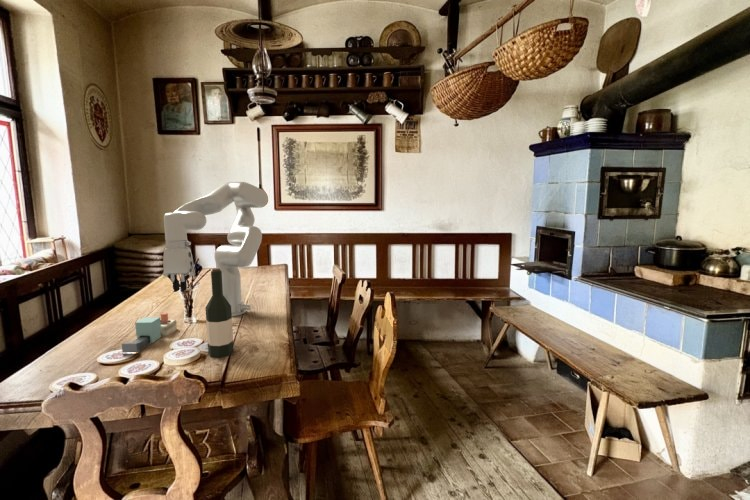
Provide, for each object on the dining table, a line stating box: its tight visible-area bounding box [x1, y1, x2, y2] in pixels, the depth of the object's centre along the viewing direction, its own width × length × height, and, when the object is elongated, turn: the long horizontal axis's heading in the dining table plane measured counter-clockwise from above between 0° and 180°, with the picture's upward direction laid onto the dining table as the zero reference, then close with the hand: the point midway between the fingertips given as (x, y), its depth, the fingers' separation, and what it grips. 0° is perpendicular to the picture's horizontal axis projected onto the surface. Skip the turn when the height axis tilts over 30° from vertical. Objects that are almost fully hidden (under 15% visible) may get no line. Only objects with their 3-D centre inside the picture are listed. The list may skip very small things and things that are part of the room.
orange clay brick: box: [160, 312, 169, 322], centre depth 161 cm, size 2×1×4 cm
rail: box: [121, 336, 151, 353], centre depth 148 cm, size 5×17×4 cm, turn 1°
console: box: [160, 319, 178, 337], centre depth 161 cm, size 10×8×5 cm
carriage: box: [134, 316, 162, 344], centre depth 152 cm, size 6×6×8 cm
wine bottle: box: [205, 267, 235, 359], centre depth 139 cm, size 8×8×30 cm
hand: (180, 290), depth 159 cm, fingers closed
